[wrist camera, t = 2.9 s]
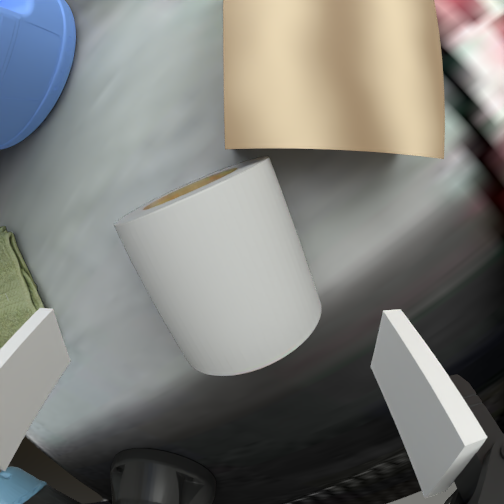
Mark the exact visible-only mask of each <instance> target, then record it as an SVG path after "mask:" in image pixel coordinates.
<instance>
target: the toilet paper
mask: <svg viewBox="0 0 504 504" xmlns="http://www.w3.org/2000/svg"><path fill="white" fill-rule="evenodd" d="M114 226H115V228H116V231H117V233H118V235H119V237H120V239H121V241H122V243H123V245H124V247H125V249H126V251H127V253H128V255H129V257H130V259H131V261H132V263H133V265H134V267H135V269H136V271H137V273H138V275H139V277H140V279H141V281H142V282H143V284H144V286H145V288H146V290H147V292H148V294H149V295H150V297H151V299H152V301H153V303H154V305H155V306H156V308H157V310H158V312H159V314H160V315H161V317H162V319H163V321H164V322H165V324H166V326H167V328H168V329H169V331H170V333H171V334H172V336H173V338H174V339H175V341H176V343H177V344H178V346H179V348H180V349H181V351H182V353H183V354H184V356H185V358H186V359H187V361H188V362H189V364H190V365H191V366H192V367H193V368H194V369H196V370H198V371H200V372H202V373H205V374H209V375H215V376H230V375H238V374H244V373H248V372H252V371H255V370H258V369H261V368H263V367H266V366H268V365H270V364H272V363H274V362H276V361H278V360H280V359H282V358H283V357H285V356H286V355H288V354H289V353H291V352H292V351H294V350H295V349H296V348H297V347H299V346H300V345H301V344H302V343H303V342H304V341H305V340H306V339H307V338H308V337H309V336H310V334H311V333H312V332H313V330H314V329H315V327H316V325H317V324H318V321H319V319H320V316H321V303H320V299H319V296H318V293H317V290H316V287H315V284H314V281H313V278H312V275H311V272H310V269H309V266H308V263H307V260H306V258H305V255H304V252H303V249H302V246H301V243H300V240H299V237H298V234H297V232H296V229H295V226H294V223H293V220H292V218H291V215H290V212H289V209H288V206H287V204H286V201H285V198H284V196H283V193H282V190H281V187H280V185H279V182H278V179H277V177H276V174H275V171H274V169H273V166H272V163H271V161H270V158H269V156H264V157H259V158H255V159H252V160H248V161H245V162H242V163H239V164H236V165H233V166H230V167H227V168H225V169H222V170H219V171H217V172H214V173H212V174H209V175H207V176H204V177H202V178H199V179H197V180H195V181H192V182H190V183H188V184H185V185H183V186H181V187H179V188H176V189H174V190H172V191H170V192H168V193H166V194H164V195H162V196H160V197H158V198H156V199H154V200H152V201H150V202H148V203H146V204H144V205H142V206H141V207H139V208H137V209H135V210H133V211H132V212H130V213H128V214H127V215H125V216H124V217H122V218H121V219H119V220H118V221H117V222H115V223H114Z"/></svg>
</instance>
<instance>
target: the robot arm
mask: <svg viewBox="0 0 504 504" xmlns="http://www.w3.org/2000/svg"><path fill="white" fill-rule="evenodd" d="M70 362H71V360H70V357H69V354H68V352H67V349H66V346H65V343H64V340H63V337H62V334H61V331H60V328H59V325H58V322H57V319H56V316H55V312H54V309H49V308H39V309H38V310H37V311H36V312H35V313H34V314H33V315H32V316H31V317H30V318H29V319H28V320H27V321H26V322H25V323H24V325H23V326H22V327H21V328H20V329H19V330H18V331H17V332H16V333H15V334H14V335H13V336H12V337H11V338H10V339H9V340H8V341H7V342H6V344H5V345H4V346H3V347H2V348H1V349H0V469H1V470H3V471H1V472H0V504H81V503H79V502H77V501H76V500H74V499H72V498H70V497H68V496H66V495H65V494H63V493H61V492H59V491H57V490H56V489H54V488H52V487H51V486H49V485H47V483H46V482H44V481H40V480H38V479H37V478H35V477H33V476H32V475H30V474H28V473H27V472H25V471H23V470H22V469H20V468H17V467H8V465H9V463H10V461H11V459H12V458H13V456H14V454H15V452H16V450H17V448H18V447H19V445H20V443H21V441H22V440H23V438H24V436H25V434H26V433H27V431H28V429H29V428H30V426H31V424H32V422H33V421H34V419H35V417H36V416H37V414H38V412H39V411H40V409H41V407H42V406H43V404H44V403H45V401H46V399H47V398H48V396H49V395H50V393H51V391H52V390H53V388H54V387H55V385H56V384H57V382H58V380H59V379H60V377H61V376H62V374H63V373H64V371H65V370H66V368H67V367H68V365H69V364H70ZM370 367H371V369H372V371H373V373H374V375H375V378H376V380H377V382H378V384H379V387H380V389H381V391H382V393H383V396H384V398H385V400H386V403H387V405H388V407H389V410H390V412H391V414H392V417H393V419H394V421H395V424H396V426H397V429H398V431H399V433H400V436H401V438H402V441H403V443H404V446H405V448H406V451H407V453H408V456H409V458H410V461H411V463H412V466H413V468H414V471H415V473H416V476H417V479H418V481H419V484H420V487H421V489H422V492H423V494H424V497H425V498H426V497H429V496H433V495H436V494H439V493H441V492H444V491H446V490H447V489H448V488H449V487H450V485H451V484H452V483H453V482H455V484H456V486H457V490H456V491H455V492H454V493H453V494H452V495H451V496H450V497H449V498H448V499H447V500H446V502H445V503H444V504H449V503H450V504H504V434H503V433H502V432H501V430H500V429H499V427H498V425H497V424H496V422H495V421H494V419H493V418H492V416H491V415H490V413H489V412H488V410H487V409H486V407H485V406H484V404H482V401H481V400H480V398H479V397H478V395H477V396H476V392H475V391H474V390H473V388H472V387H471V385H470V384H469V383H468V382H467V381H466V380H464V379H463V378H462V377H460V376H459V375H458V374H457V375H452V376H448V375H447V373H446V372H445V370H444V369H443V367H442V366H441V364H440V363H439V362H438V360H437V359H436V357H435V356H434V354H433V353H432V352H431V350H430V349H429V347H428V346H427V345H426V343H425V342H424V340H423V339H422V338H421V336H420V335H419V333H418V332H417V331H416V329H415V328H414V327H413V325H412V324H411V323H410V321H409V320H408V319H407V317H406V316H405V315H404V313H403V312H402V311H401V309H398V310H384V311H383V313H382V318H381V323H380V328H379V332H378V337H377V341H376V346H375V350H374V354H373V358H372V362H371V366H370ZM110 478H111V490H112V501H113V504H212V502H213V500H214V498H215V493H216V480H215V477H214V476H213V474H212V473H211V472H210V471H209V470H207V469H206V468H205V467H203V466H202V465H200V464H198V463H196V462H194V461H192V460H190V459H188V458H185V457H182V456H180V455H176V454H173V453H169V452H165V451H160V450H154V449H141V448H140V449H128V450H124V451H122V452H120V453H118V454H117V455H116V456H115V458H114V460H113V463H112V466H111V470H110Z"/></svg>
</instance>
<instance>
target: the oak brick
mask: <svg viewBox="0 0 504 504" xmlns="http://www.w3.org/2000/svg"><path fill="white" fill-rule="evenodd" d="M223 57H224V123H225V149H255V148H295V149H332V150H352V151H368V152H382V153H394V154H405V155H415V156H424V157H432V158H441V159H444V135H445V111H444V82H443V67H442V55H441V46H440V37H439V29H438V22H437V15H436V9H435V3H434V0H223Z"/></svg>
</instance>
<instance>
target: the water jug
mask: <svg viewBox="0 0 504 504" xmlns="http://www.w3.org/2000/svg"><path fill="white" fill-rule="evenodd" d="M75 44H76V28H75V21H74V17H73V14H72V11H71V9H70V7H69V6H68V4H67V3H66V1H65V0H0V150H1V149H6V148H9V147H11V146H13V145H15V144H17V143H19V142H21V141H22V140H24V139H25V138H26V137H28V136H29V135H30V134H31V133H32V132H33V131H34V130H35V129H36V128H37V127H38V126H39V125H40V124H41V123H42V122H43V121H44V119H45V118H46V117H47V115H48V114H49V113H50V111H51V110H52V108H53V107H54V105H55V103H56V102H57V100H58V98H59V96H60V94H61V92H62V90H63V88H64V86H65V83H66V81H67V78H68V76H69V73H70V69H71V66H72V62H73V58H74V52H75Z"/></svg>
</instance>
